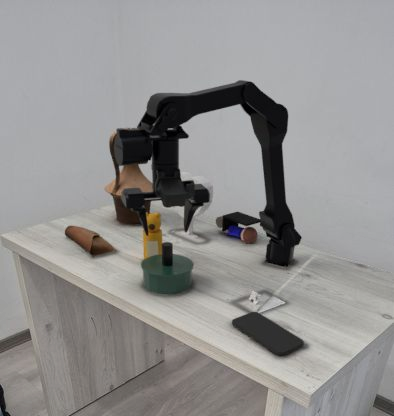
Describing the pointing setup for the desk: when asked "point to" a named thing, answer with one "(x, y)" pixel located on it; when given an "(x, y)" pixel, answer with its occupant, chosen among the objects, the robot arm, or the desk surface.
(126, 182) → the pitcher
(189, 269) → the pot lid
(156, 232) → the toy
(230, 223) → the figurine character
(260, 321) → the phone
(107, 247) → the sunglasses case
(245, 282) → the desk surface
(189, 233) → the heart sculpture
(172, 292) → the pot
